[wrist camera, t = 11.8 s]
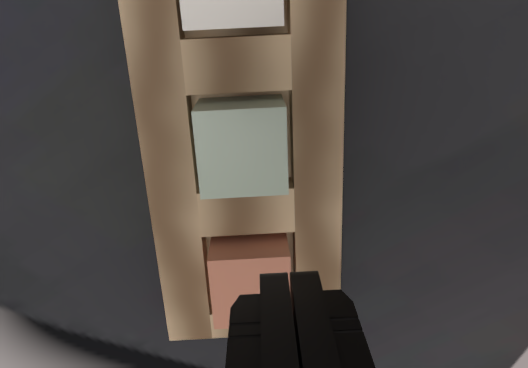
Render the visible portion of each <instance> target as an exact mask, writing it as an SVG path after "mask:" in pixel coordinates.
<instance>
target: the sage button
mask: <svg viewBox="0 0 528 368" xmlns="http://www.w3.org/2000/svg"><path fill="white" fill-rule="evenodd" d="M191 115H192V125H193V134H194V144H195V153H196V163H197V172H198V182H199V191H200V200H202V199H220V198H239V197H257V196H276V195H289V182H288V144H287V107H286V104H285V102H284V100H283V97H282V95H281V94H272V95H253V96H233V97H214V98H199V99H198V101H197V103H196V104H195V106H194V108H193V109H192V111H191Z"/></svg>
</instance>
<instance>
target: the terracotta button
mask: <svg viewBox="0 0 528 368" xmlns="http://www.w3.org/2000/svg"><path fill="white" fill-rule="evenodd" d="M207 267H208V277H209V286H210V296H211V305H212V315H213V324H214V329H229V319H230V308H231V307H232V305H233V304H234V302H235V301H236V299H237V298H238V297H239V295H244V294H260V274H265V273H284V272H287V273H288V279H289V288H290V272H291V257H290V251H289V245H288V239H287V234H286V233H268V234H250V235H232V236H214V237H211V240H210V246H209V252H208V258H207Z"/></svg>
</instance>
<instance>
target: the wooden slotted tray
mask: <svg viewBox="0 0 528 368" xmlns="http://www.w3.org/2000/svg"><path fill="white" fill-rule="evenodd" d="M346 2H347V0H284V26H272V27H252V28H231V29H211V30H190V31H183V30H182V20H181V11H180V1H179V0H118V5H119V11H120V18H121V24H122V31H123V38H124V44H125V51H126V57H127V64H128V71H129V77H130V84H131V90H132V97H133V103H134V110H135V117H136V123H137V130H138V136H139V143H140V150H141V156H142V163H143V169H144V176H145V182H146V189H147V196H148V202H149V209H150V215H151V222H152V229H153V235H154V242H155V248H156V255H157V261H158V268H159V275H160V281H161V288H162V294H163V301H164V307H165V314H166V321H167V327H168V334H169V340H170V341H174V340H191V339H208V338H225V337H228V330H229V329H214V324H213V315H212V305H211V296H210V286H209V277H208V267H207V258H208V252H209V246H210V240H211V237H214V236H232V235H250V234H268V233H286V234H287V239H288V245H289V251H290V257H291V272H301V271H318V272H319V276H320V280H321V284H322V288H323V290H338V289H341V242H342V194H343V146H344V98H345V50H346ZM272 94H281V95H282V97H283V100H284V102H285V104H286V107H287V144H288V182H289V195H276V196H257V197H239V198H220V199H202V200H200V191H199V182H198V172H197V163H196V153H195V144H194V134H193V125H192V115H191V111H192V109H193V108H194V106H195V104H196V103H197V101H198V99H199V98H214V97H233V96H253V95H272Z"/></svg>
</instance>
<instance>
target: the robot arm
mask: <svg viewBox="0 0 528 368" xmlns="http://www.w3.org/2000/svg"><path fill="white" fill-rule="evenodd" d="M225 368H375V365H374V362H373V359H372V356H371V353H370V350H369V347H368V344H367V341H366V339H365V336H364V333H363V332H362V327H361V324H360V321H359V319H358V315H357V312H356V309H355V306H354V303H353V301H352V300H351V299H350V298H349V297H348V296H347V295H346V294H345V293H344V292H343V291H342V290H341V289H338V290H323V288H322V284H321V280H320V276H319V272H318V271H301V272H290V288H289V279H288V273H287V272H284V273H265V274H260V294H244V295H239V297H238V298H237V299H236V301H235V302H234V304H233V305H232V307H231V308H230V319H229V330H228V342H227V354H226V366H225Z"/></svg>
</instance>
